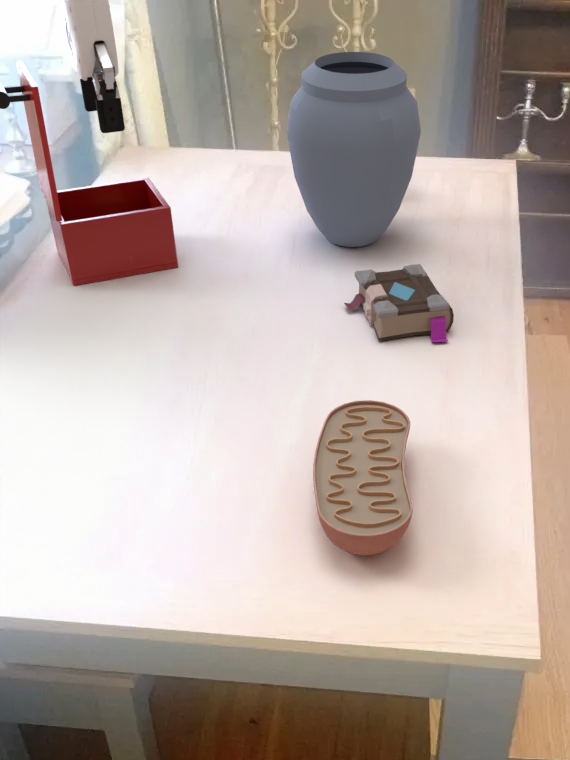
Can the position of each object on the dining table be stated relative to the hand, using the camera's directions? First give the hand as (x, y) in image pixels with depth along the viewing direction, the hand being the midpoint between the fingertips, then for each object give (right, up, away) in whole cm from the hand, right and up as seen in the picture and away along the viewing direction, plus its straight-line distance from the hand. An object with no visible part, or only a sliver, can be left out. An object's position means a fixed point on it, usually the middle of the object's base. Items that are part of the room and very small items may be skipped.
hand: (104, 120), depth 122 cm
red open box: (-2, -14, +13) cm, 19 cm away
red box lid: (-8, -3, -1) cm, 9 cm away
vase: (+34, -9, +19) cm, 40 cm away
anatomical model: (+34, -55, -28) cm, 71 cm away
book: (+39, -26, +1) cm, 47 cm away
